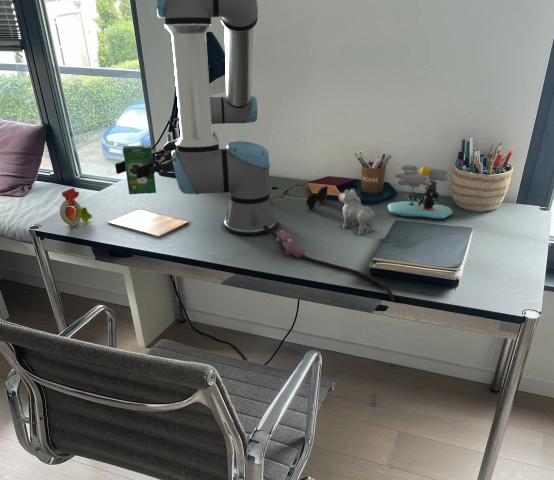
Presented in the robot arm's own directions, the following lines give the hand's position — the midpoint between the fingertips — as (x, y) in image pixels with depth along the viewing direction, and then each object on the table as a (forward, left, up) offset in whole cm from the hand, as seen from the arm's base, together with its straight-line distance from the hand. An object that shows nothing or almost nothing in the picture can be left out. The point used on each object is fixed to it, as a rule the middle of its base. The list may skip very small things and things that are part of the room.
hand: (127, 171), depth 157 cm
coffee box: (0, -5, -8) cm, 9 cm away
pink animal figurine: (-48, -10, -17) cm, 52 cm away
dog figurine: (-55, -35, -17) cm, 67 cm away
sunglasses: (-29, -45, -17) cm, 56 cm away
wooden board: (-1, -5, -17) cm, 17 cm away
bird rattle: (+17, +7, -17) cm, 25 cm away
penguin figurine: (-67, -56, -17) cm, 89 cm away
